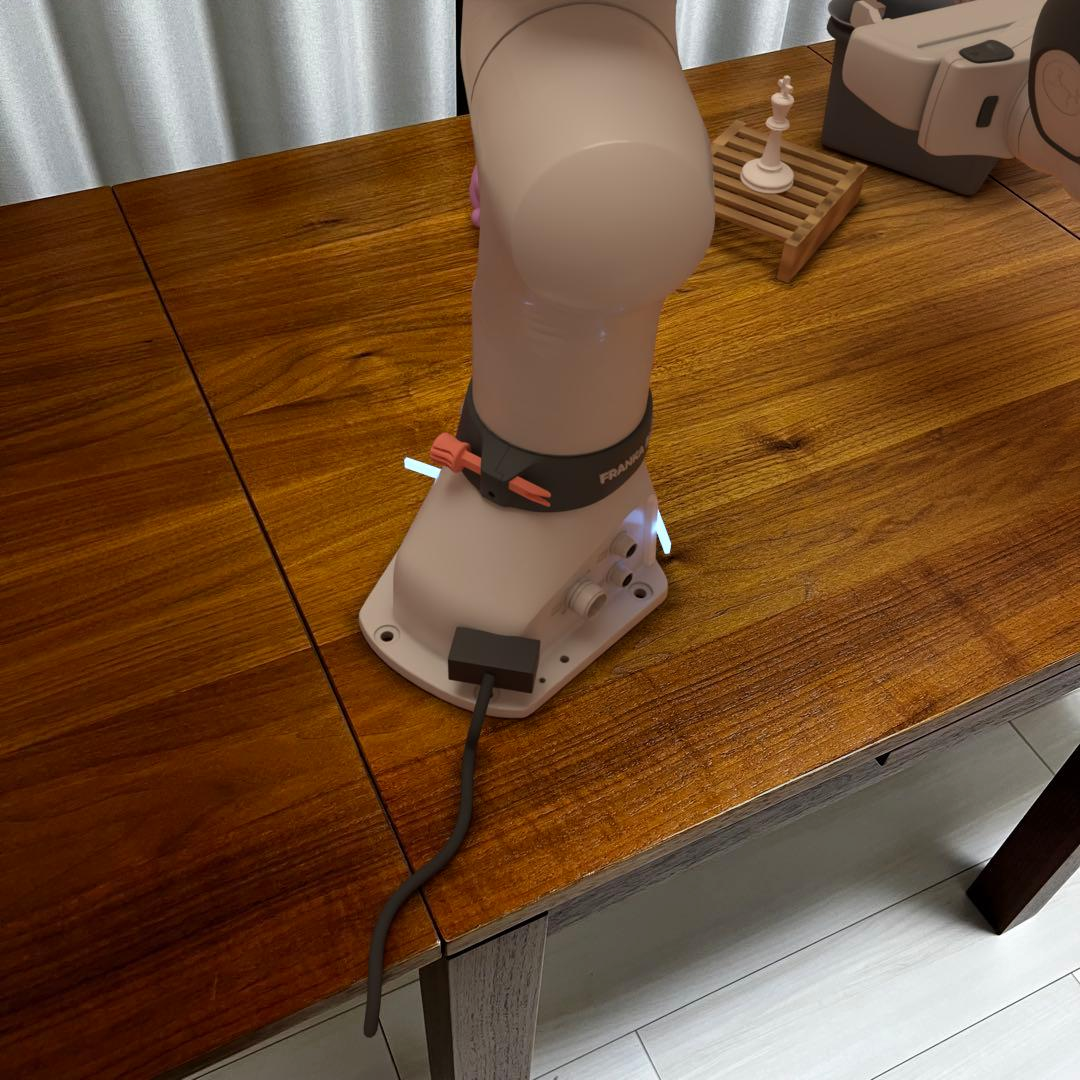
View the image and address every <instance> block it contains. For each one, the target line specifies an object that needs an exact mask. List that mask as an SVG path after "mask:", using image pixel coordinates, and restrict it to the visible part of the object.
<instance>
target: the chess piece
mask: <svg viewBox="0 0 1080 1080" xmlns="http://www.w3.org/2000/svg"><path fill="white" fill-rule="evenodd" d="M791 79H792V78H791V76H789V75H783V78H780V79H778V80H777V86H779V87H780V88H781V89H780V92H775V93H774V94H772V95H771V96H770V97H771V98H770V102H771V108H772V115H773V116H769V117H768V118H767V119H766V121H765V126H766V127H767V128H768V129H770V131H769V134H768V135H769V138H768V141H767V144H766V146H764V147H765V150H764V153H763V156H762V157H761V158H759V157H758V159H754V160H751V161H749V162H747V163H746V164H745V165H744V166H742V167H743V168H742V172H741V174H740V178H741V180H740V181H741V182H743V183H744V184H745V185H746V186H747V187H748V188H750V189H752V190H754V191H757V192H761V193H768V194H778V193H781V192H784V191H787V190H788V189H790V188H791V187H792V185H793V186H794V184H793V178H794V174H793V171H794V170H792V169H791V168H790V167H789V166H788V165H786V164H785V163H783V162H781V161H780V153H781V151H780V146H781V139H782V135H783V132H785V131H787V130H788V129H790V121H789V119H788V118H786V117H787V115H788V114H789V112H790V110H791V108H792V107H793V105H794V103H795V98H794V96H793V95H792V93H793V91H794V87H793V86H792V85H790V84H791Z"/></svg>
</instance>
